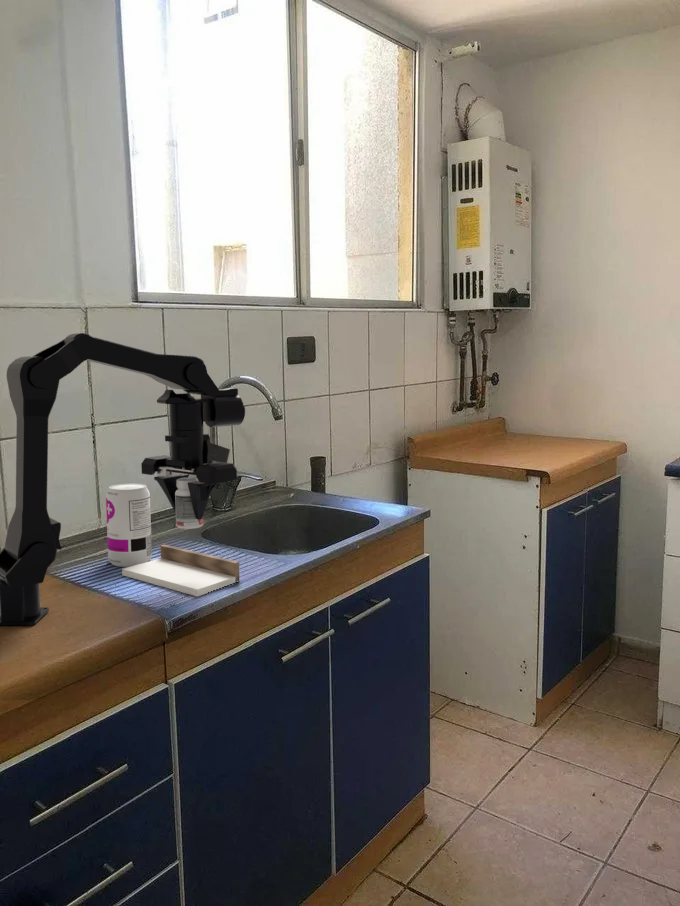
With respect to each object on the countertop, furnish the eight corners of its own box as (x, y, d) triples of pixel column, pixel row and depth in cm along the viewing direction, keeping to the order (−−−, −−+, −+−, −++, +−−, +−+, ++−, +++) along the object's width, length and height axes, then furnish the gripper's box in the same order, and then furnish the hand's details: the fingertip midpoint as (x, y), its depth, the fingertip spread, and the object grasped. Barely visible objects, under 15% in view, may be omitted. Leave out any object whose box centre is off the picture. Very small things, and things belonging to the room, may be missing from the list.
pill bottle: (205, 527, 127) (204, 480, 126) (178, 530, 125) (176, 482, 124) (200, 522, 131) (199, 476, 130) (174, 524, 130) (172, 478, 129)
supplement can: (107, 569, 137) (104, 491, 135) (109, 557, 145) (106, 483, 143) (152, 566, 139) (149, 489, 137) (151, 555, 147) (149, 482, 145)
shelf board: (239, 582, 130) (239, 561, 129) (197, 596, 122) (197, 575, 121) (165, 563, 142) (164, 544, 141) (122, 575, 134) (121, 555, 133)
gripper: (258, 428, 127) (259, 515, 129) (185, 422, 138) (188, 503, 140) (211, 434, 118) (213, 527, 120) (137, 427, 129) (141, 513, 131)
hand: (189, 517), depth 128 cm, fingers closed on pill bottle, 5 cm apart
